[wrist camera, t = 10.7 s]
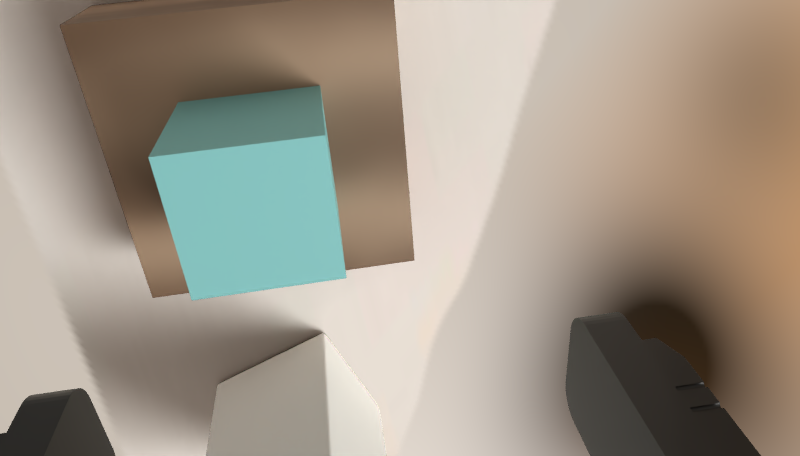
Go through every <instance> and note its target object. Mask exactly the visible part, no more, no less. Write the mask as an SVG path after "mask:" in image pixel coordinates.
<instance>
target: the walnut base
mask: <svg viewBox="0 0 800 456" xmlns="http://www.w3.org/2000/svg"><path fill="white" fill-rule="evenodd" d="M60 28H61V31H62V34H63V36H64V39H65V42H66V45H67V48H68V51H69V54H70V57H71V60H72V63H73V66H74V69H75V72H76V75H77V77H78V80H79V83H80V86H81V89H82V92H83V95H84V98H85V101H86V104H87V107H88V110H89V113H90V116H91V118H92V121H93V124H94V127H95V130H96V133H97V136H98V139H99V142H100V145H101V148H102V151H103V154H104V157H105V159H106V162H107V165H108V168H109V171H110V174H111V177H112V180H113V183H114V186H115V189H116V192H117V195H118V198H119V200H120V203H121V206H122V209H123V212H124V215H125V218H126V221H127V224H128V227H129V230H130V233H131V236H132V239H133V241H134V244H135V247H136V250H137V253H138V256H139V259H140V262H141V265H142V268H143V271H144V274H145V277H146V280H147V282H148V285H149V288H150V291H151V294H152V297H153V298H155V297H162V296H169V295H176V294H183V293H189V290H188V286H187V283H186V280H185V276H184V273H183V270H182V267H181V263H180V260H179V257H178V253H177V250H176V247H175V243H174V240H173V237H172V234H171V230H170V227H169V224H168V220H167V217H166V214H165V211H164V207H163V204H162V201H161V197H160V194H159V191H158V188H157V184H156V181H155V178H154V174H153V171H152V168H151V165H150V161H149V158H148V157H149V155H150V153H151V152H152V150H153V148H154V146H155V144H156V142H157V140H158V139H159V137H160V135H161V133H162V131H163V129H164V127H165V126H166V124H167V122H168V120H169V118H170V116H171V115H172V113H173V111H174V109H175V107H176V105H177V103H178V102H185V101H193V100H202V99H210V98H219V97H227V96H236V95H244V94H253V93H261V92H269V91H278V90H286V89H295V88H303V87H312V86H320V87H321V94H322V101H323V108H324V115H325V122H326V129H327V136H328V143H329V149H330V156H331V163H332V170H333V177H334V184H335V191H336V198H337V204H338V212H339V220H340V229H341V237H342V246H343V254H344V262H345V270H350V269H357V268H364V267H371V266H378V265H385V264H392V263H399V262H406V261H413V260H414V249H413V236H412V224H411V211H410V198H409V186H408V173H407V160H406V148H405V135H404V122H403V110H402V97H401V84H400V72H399V59H398V46H397V34H396V21H395V8H394V0H141V1H131V2H121V3H112V4H102V5H93V6H90V7H89V8H87V9H86V10H84V11H82V12H81V13H79V14H77V15H76V16H74V17H72V18H71V19H69V20H68V21H66V22H64V23H63V24H61V25H60Z"/></svg>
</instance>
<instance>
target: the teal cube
mask: <svg viewBox="0 0 800 456" xmlns="http://www.w3.org/2000/svg"><path fill="white" fill-rule="evenodd" d="M148 158H149V161H150V165H151V168H152V171H153V174H154V178H155V181H156V184H157V188H158V191H159V194H160V197H161V201H162V204H163V207H164V211H165V214H166V217H167V220H168V224H169V227H170V230H171V234H172V237H173V240H174V243H175V247H176V250H177V253H178V257H179V260H180V263H181V267H182V270H183V273H184V276H185V280H186V283H187V286H188V290H189V293H190V296H191V299H192V300H198V299H205V298H212V297H219V296H226V295H233V294H240V293H247V292H254V291H260V290H267V289H274V288H281V287H288V286H295V285H302V284H309V283H316V282H323V281H329V280H336V279H343V278H346V271H345V262H344V254H343V246H342V237H341V229H340V220H339V212H338V204H337V198H336V191H335V184H334V177H333V170H332V163H331V156H330V149H329V143H328V136H327V129H326V122H325V115H324V108H323V101H322V94H321V87H320V86H312V87H303V88H295V89H286V90H278V91H269V92H261V93H253V94H244V95H236V96H227V97H219V98H210V99H202V100H193V101H185V102H178V103H177V105H176V107H175V109H174V111H173V113H172V115H171V116H170V118H169V120H168V122H167V124H166V126H165V127H164V129H163V131H162V133H161V135H160V137H159V139H158V140H157V142H156V144H155V146H154V148H153V150H152V152H151V153H150V155H149V157H148Z"/></svg>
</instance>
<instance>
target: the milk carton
mask: <svg viewBox="0 0 800 456" xmlns="http://www.w3.org/2000/svg"><path fill="white" fill-rule="evenodd" d="M206 456H387V454H386V448H385V441H384V435H383V428H382V422H381V415H380V409H379V406H378V404H377V403H376V402H375V400H374V399H373V397H372V396H371V395H370V393H369V392H368V391H367V389H366V388H365V387H364V385H363V384H362V383H361V381H360V380H359V378H358V377H357V376H356V374H355V373H354V372H353V370H352V369H351V368H350V366H349V365H348V364H347V362H346V361H345V360H344V358H343V357H342V355H341V354H340V353H339V351H338V350H337V349H336V347H335V346H334V345H333V343H332V342H331V341H330V339H329V338H328V337H327V336H326V334H324V333H322V334H320V335H318V336H316V337H314V338H312V339H310V340H308V341H306V342H303V343H301V344H299V345H297V346H295V347H293V348H291V349H289V350H287V351H285V352H283V353H281V354H279V355H277V356H275V357H273V358H271V359H269V360H267V361H264V362H262V363H260V364H258V365H256V366H254V367H252V368H250V369H248V370H246V371H244V372H242V373H240V374H238V375H236V376H234V377H232V378H230V379H228V380H226V381H224V382H222V383H220V384H218V385H217V390H216V397H215V403H214V409H213V415H212V421H211V428H210V434H209V440H208V446H207V453H206Z"/></svg>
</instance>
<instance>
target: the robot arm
mask: <svg viewBox="0 0 800 456" xmlns="http://www.w3.org/2000/svg"><path fill="white" fill-rule="evenodd" d="M566 395H567V401H568V406H569V410H570V413H571V416H572V418H573V421H574V423H575V425H576V427H577V429H578V431H579V433H580V435H581V437H582V439H583V441H584V443H585V446H586V448H587V450H588V452H589V454H590V456H761V455H760V454H759V453H758V451H757V450H756V449H755V448H754V446H753V445H752V444H751V442H750V441H749V440H748V438H747V437H746V436H745V435H744V433H743V432H742V431H741V429H740V428H739V427H738V426H737V424H736V423H735V422H734V421H733V419H732V418H731V417H730V415H729V414H728V413H727V411H726V410H725V409H724V408H721V407H720V402H719V401H718V400H717V399H716V397H715V396H714V395H713V393H712V392H711V391H710V389H709V388H708V387H705V386H704V382H703V380H702V379H701V378H700V377H699V375H698V374H697V373H696V371H695V370H694V369H693V368H692V366H691V365H690V364H689V362H688V361H687V360H686V359H685V357H683V356H682V355H680V354H679V353H677V352H676V351H674V350H673V349H672V348H670V347H668V346H667V345H666V344H664V343H663V342H661V341H660V340H658V339H657V338H654V339H647V340H641V339H640V337H639V336H638V335H637V333H636V332H635V330H634V329H633V327H632V326H631V325H630V323H629V322H628V320H627V319H626V318H625V317H624V316H623V315H622V314H621V313H618V312H616V313H609V314H602V315H595V316H588V317H581V318H576V319H574V320H573V322H572V325H571V333H570V344H569V354H568V365H567V375H566ZM0 456H115V453H114V450H113V448H112V446H111V444H110V441H109V439H108V437H107V435H106V432H105V430H104V428H103V426H102V424H101V421H100V419H99V417H98V415H97V413H96V410H95V408H94V406H93V404H92V402H91V399H90V397H89V395H88V394H87V392H86V391H85V390H83V389H81V388H80V389H79V388H78V389H71V390H64V391H57V392H51V393H43V394H36V395H31V396H29V397H27V398H26V399H25V400H24V401H23V403H22V404H21V406H20V408H19V410H18V412H17V414H16V416H15V418H14V420H13V421H12V423H11V425H10V427H9V429H8V431H7V433H2V434H0Z"/></svg>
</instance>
